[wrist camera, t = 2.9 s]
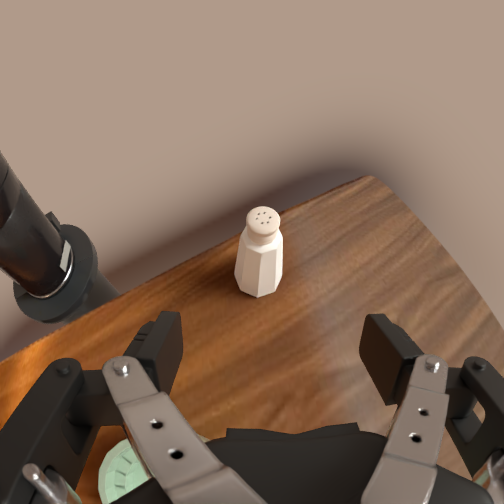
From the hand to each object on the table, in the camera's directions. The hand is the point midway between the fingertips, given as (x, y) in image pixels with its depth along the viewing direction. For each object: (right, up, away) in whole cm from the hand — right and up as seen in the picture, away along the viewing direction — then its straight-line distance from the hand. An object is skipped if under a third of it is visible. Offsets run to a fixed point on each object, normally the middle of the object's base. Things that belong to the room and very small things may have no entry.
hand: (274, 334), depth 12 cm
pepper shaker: (0, +1, +22) cm, 22 cm away
